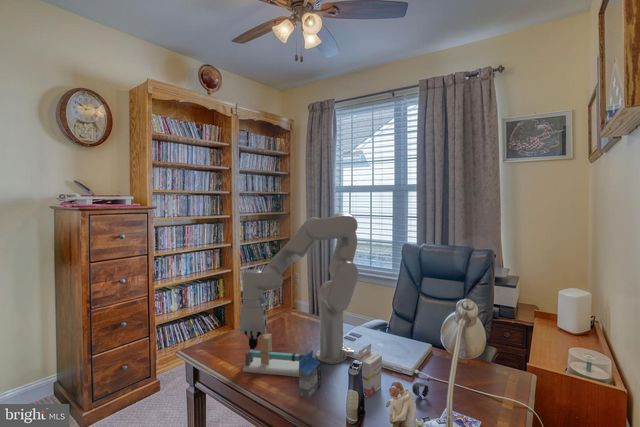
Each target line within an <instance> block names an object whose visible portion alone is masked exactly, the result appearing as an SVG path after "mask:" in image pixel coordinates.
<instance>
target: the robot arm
mask: <svg viewBox="0 0 640 427" xmlns="http://www.w3.org/2000/svg"><path fill="white" fill-rule="evenodd" d="M357 231H358V221H357V219H356V218H355V217H354V216H353V215H351V214H347V213H343V212H338V213H335V214H333V215H332V216H329V217H316V216H311V217H309V218H307V219H306V220H305V221H304V222H303V224H301V226H300V227H299V228H298V229H297V231H296V232H295V234H294V235H293V236H292V237H291V238H290V239H289V240H288V241H287V243H286V244H284V246H283V247H282V248H281V249H279V251H278V252H277V253H276V254H275V255H274V256H272V258H271V260H270V261H269V262H268V263H267V264H266V266H265V267H264V268H263V270H262V271H261V269H254V268H253V269H246V270H244V271H243V273H242V304H241V307H240V313H239V323H238V324H239V325H238V326H239V333H241V334H245V335H246V337H247V339H248V345H249V350H255V349H256V348H257V347H258V342H259V341H258V340H259V337H260V336H263V335H264V334H266V333H267V332H268V330H267V327H268V315H267V309H266V305H265V304H266V302H267V299H265V298H264V296H263V292H264V291H263V290H267V291H268V290H269V291H275V290H276V291H277V290H278V289H280V288H281V287H282V285H283V283H284V278H283V275H282V274H284V272H285V271H286V270H287V269H288V268H289V266H290V265H292V264H294V263H295V262H296V261H299V260H301V259H303V258H304V257H305V256H306V255H307V254H308V253H309V251H310V249H312V247H313V246H314V245H315V243H316V242H318V241H327V240H335V239H336V243H335V248H334V251H333V254H332V257H331V260H330V262H329V267H328V272H329V274H330V276H331V277H332V278H333V279H332V280H327V281H324V282H323V283H322V284H321V285H320V288H319V291H318V299H319V313H320V315H319V327H320V328H319V330H320V331H319V336H320V337H319V350H317V351H316V355H315V356H316V360H317V361H319V362H320V363H324V364H331V365H336V364H340V363H342V362H345V361H346V359H347V356H353V357H354V354H355V351H354V350H352V347H348V348H347V347H345V343H344V311H345V310H346V309H348V308H349V305H350V303H351V301H352V298H353V296H354V292H355V290H356V286H357V283H358V278H359V269H358V267H357V265H356V264H355V263H354V258H355V255H356V252H357V246H358V236H357V233H356V232H357ZM267 334H268V333H267Z"/></svg>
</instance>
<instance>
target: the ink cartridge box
mask: <svg viewBox="0 0 640 427" xmlns="http://www.w3.org/2000/svg"><path fill="white" fill-rule="evenodd" d="M371 349H372V343H369V344H367V345H366V346H364V347H363V348H362V349H359V350H358V356H357V362H358V361H359V362H362V363H363V367H362V380H363V388H364V394H365V396H367V397H369V396H370V395H372V394H373V393H374V392H375V391H376V390H377V389H378V388H379V387H381V388H382V368H383V367H382V366H383V364H382V361H383V354H380V353H377V352H373V351H371ZM377 391H378V390H377ZM377 391H376V392H377ZM376 392H375V393H376ZM375 393H374V394H375ZM374 394H373V395H374ZM373 395H372V396H373ZM365 396H364V397H365ZM367 397H366V398H367ZM369 398H370V397H369Z"/></svg>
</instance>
